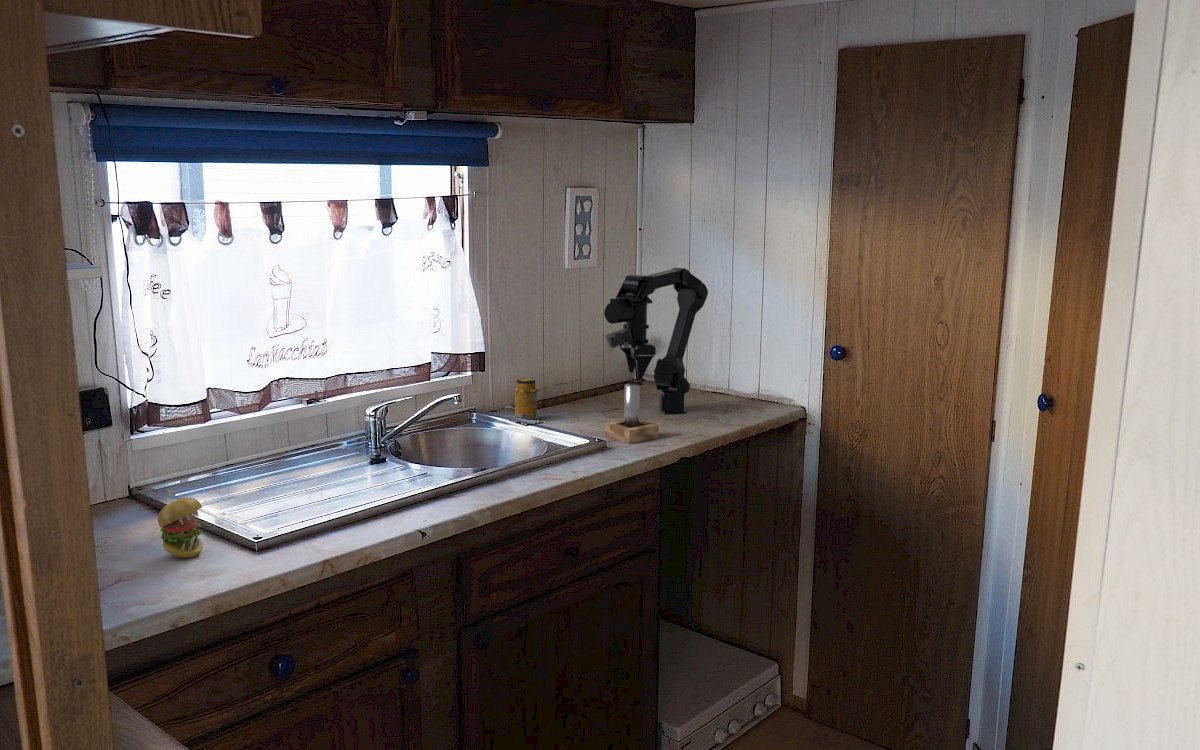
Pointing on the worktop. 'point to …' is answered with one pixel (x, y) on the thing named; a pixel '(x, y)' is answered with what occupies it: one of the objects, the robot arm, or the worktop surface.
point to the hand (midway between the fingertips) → (635, 375)
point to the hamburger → (181, 527)
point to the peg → (631, 405)
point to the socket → (631, 431)
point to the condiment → (526, 399)
